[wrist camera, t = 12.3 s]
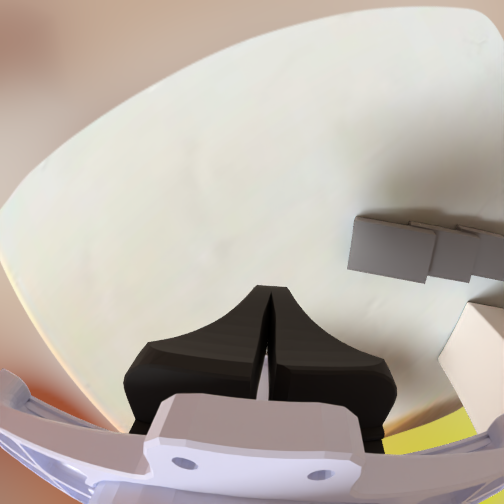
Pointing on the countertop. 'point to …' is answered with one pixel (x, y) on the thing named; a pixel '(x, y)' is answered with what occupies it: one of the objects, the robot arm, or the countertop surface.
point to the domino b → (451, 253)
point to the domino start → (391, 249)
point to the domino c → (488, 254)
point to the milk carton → (477, 363)
